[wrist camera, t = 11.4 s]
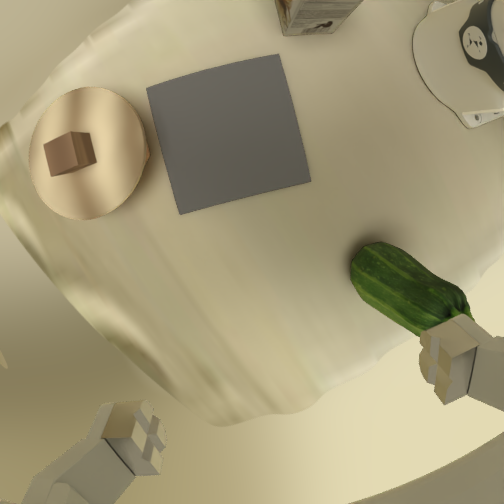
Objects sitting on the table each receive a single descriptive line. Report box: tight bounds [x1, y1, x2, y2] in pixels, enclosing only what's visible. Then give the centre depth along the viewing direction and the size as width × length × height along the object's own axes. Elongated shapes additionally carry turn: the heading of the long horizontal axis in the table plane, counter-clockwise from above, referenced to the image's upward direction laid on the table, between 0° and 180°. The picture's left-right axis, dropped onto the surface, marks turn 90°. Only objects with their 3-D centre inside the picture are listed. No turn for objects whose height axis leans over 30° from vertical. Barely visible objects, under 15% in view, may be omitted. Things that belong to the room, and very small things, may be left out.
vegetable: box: [351, 242, 475, 337], centre depth 29 cm, size 7×7×20 cm
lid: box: [29, 87, 147, 220], centre depth 25 cm, size 13×13×5 cm
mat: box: [146, 54, 311, 215], centre depth 33 cm, size 15×15×1 cm
